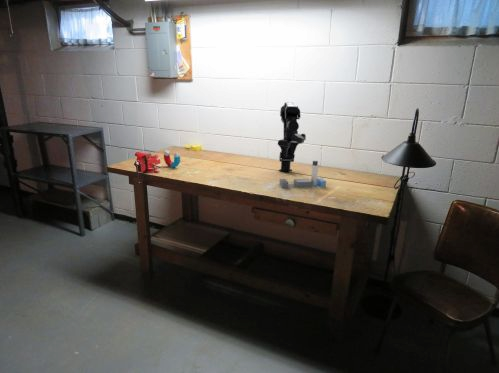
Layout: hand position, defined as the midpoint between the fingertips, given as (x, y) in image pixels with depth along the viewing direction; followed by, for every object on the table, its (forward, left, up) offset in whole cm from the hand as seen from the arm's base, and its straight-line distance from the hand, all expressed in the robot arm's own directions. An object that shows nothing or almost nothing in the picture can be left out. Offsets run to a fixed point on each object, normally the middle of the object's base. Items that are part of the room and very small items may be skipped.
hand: (289, 155), depth 205 cm
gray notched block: (+12, +15, -13) cm, 23 cm away
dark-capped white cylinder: (+7, +20, -12) cm, 24 cm away
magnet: (+26, -68, -13) cm, 74 cm away
